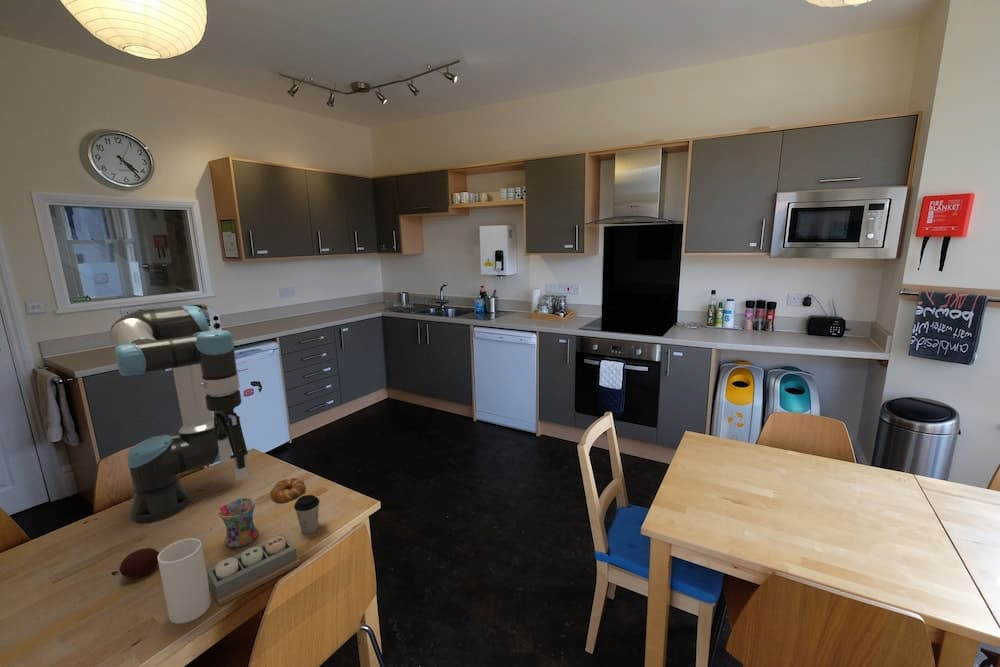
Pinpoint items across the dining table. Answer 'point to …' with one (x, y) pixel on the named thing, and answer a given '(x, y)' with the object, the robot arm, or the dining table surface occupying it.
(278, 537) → the button
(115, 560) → the dining table surface
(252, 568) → the console
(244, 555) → the button
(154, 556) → the potato
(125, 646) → the dining table surface
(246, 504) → the mug
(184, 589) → the cup
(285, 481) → the bagel
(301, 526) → the coffee cup
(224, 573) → the button
